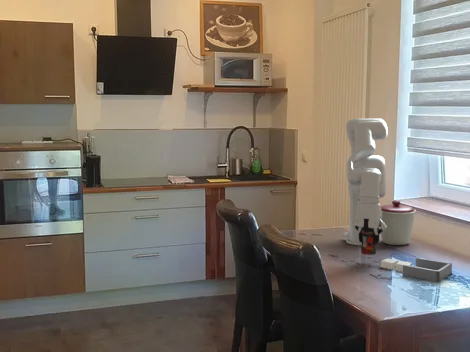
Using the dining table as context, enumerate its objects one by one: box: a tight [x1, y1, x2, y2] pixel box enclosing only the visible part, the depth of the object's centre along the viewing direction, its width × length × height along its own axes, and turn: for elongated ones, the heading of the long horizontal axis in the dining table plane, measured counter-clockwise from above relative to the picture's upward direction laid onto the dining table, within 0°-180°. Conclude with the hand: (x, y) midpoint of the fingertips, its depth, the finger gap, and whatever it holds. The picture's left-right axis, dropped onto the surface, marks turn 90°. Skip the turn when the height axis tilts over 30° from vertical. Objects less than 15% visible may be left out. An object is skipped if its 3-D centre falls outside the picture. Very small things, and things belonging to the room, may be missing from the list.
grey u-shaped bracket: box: [402, 257, 453, 283], centre depth 212 cm, size 14×14×4 cm
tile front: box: [395, 260, 413, 272], centre depth 218 cm, size 5×5×3 cm
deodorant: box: [360, 219, 377, 256], centre depth 226 cm, size 6×6×15 cm
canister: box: [379, 199, 417, 246], centre depth 260 cm, size 18×18×21 cm
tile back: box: [380, 258, 400, 271], centre depth 222 cm, size 5×5×3 cm
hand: (368, 242), depth 226 cm, fingers closed on deodorant, 5 cm apart
